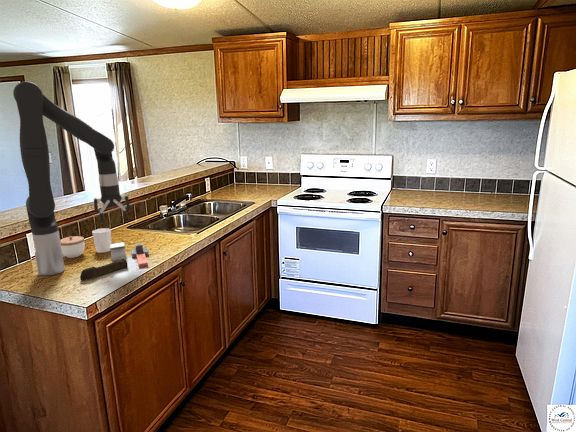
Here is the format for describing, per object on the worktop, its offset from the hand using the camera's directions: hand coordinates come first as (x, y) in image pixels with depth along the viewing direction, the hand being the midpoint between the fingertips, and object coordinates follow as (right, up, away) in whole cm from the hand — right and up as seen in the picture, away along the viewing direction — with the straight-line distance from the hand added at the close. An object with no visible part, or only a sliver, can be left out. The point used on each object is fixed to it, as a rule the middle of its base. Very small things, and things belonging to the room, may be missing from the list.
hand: (114, 219), depth 177 cm
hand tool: (+2, -22, -14) cm, 26 cm away
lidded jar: (-22, -17, +8) cm, 29 cm away
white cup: (-11, -15, +15) cm, 24 cm away
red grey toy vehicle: (+11, -18, +2) cm, 21 cm away
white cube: (0, -17, +5) cm, 18 cm away
